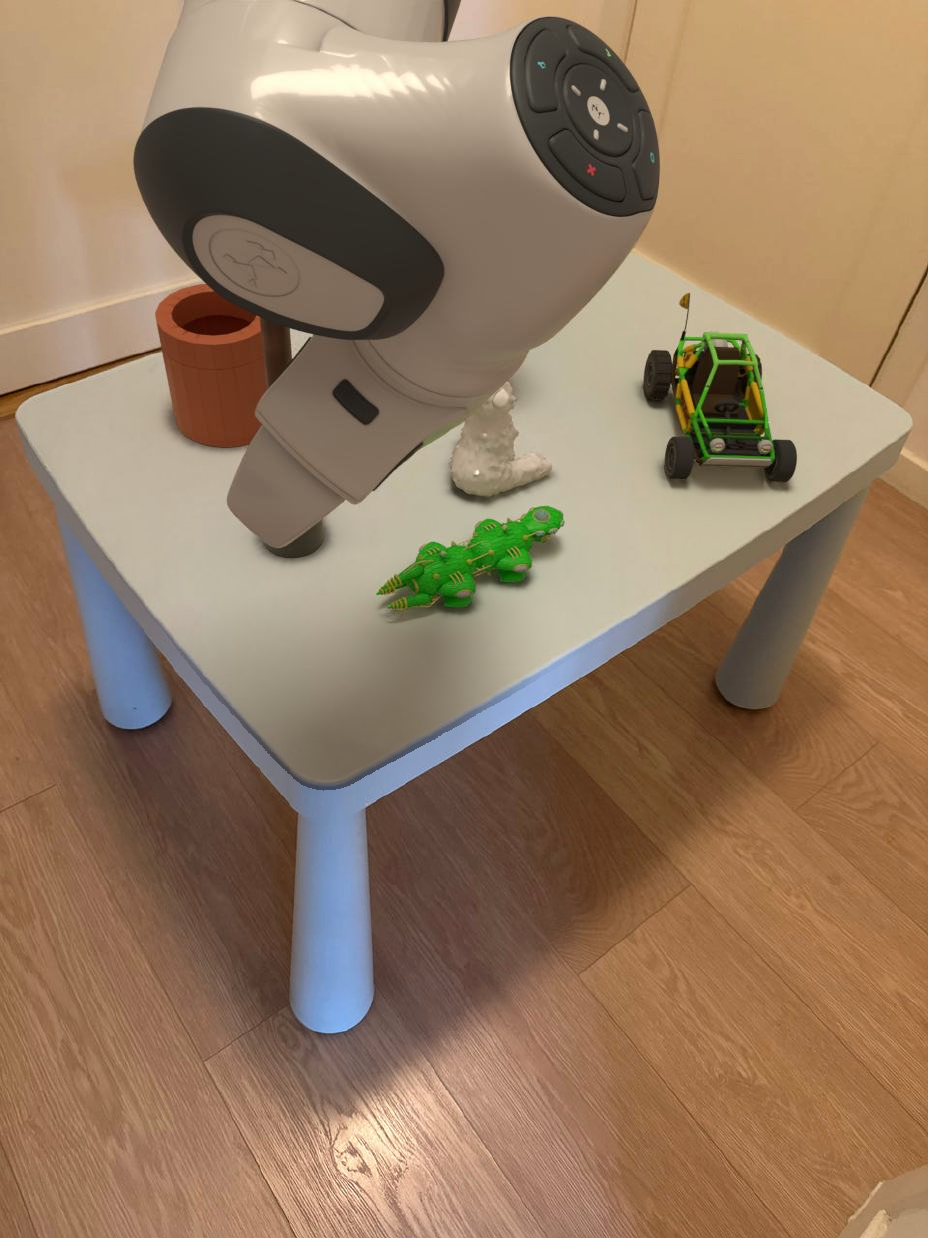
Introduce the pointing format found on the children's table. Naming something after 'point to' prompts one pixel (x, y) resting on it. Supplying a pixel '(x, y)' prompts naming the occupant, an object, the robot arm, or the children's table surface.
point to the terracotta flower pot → (212, 366)
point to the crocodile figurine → (474, 559)
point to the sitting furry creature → (493, 451)
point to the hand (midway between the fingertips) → (335, 444)
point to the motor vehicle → (717, 406)
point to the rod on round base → (275, 361)
